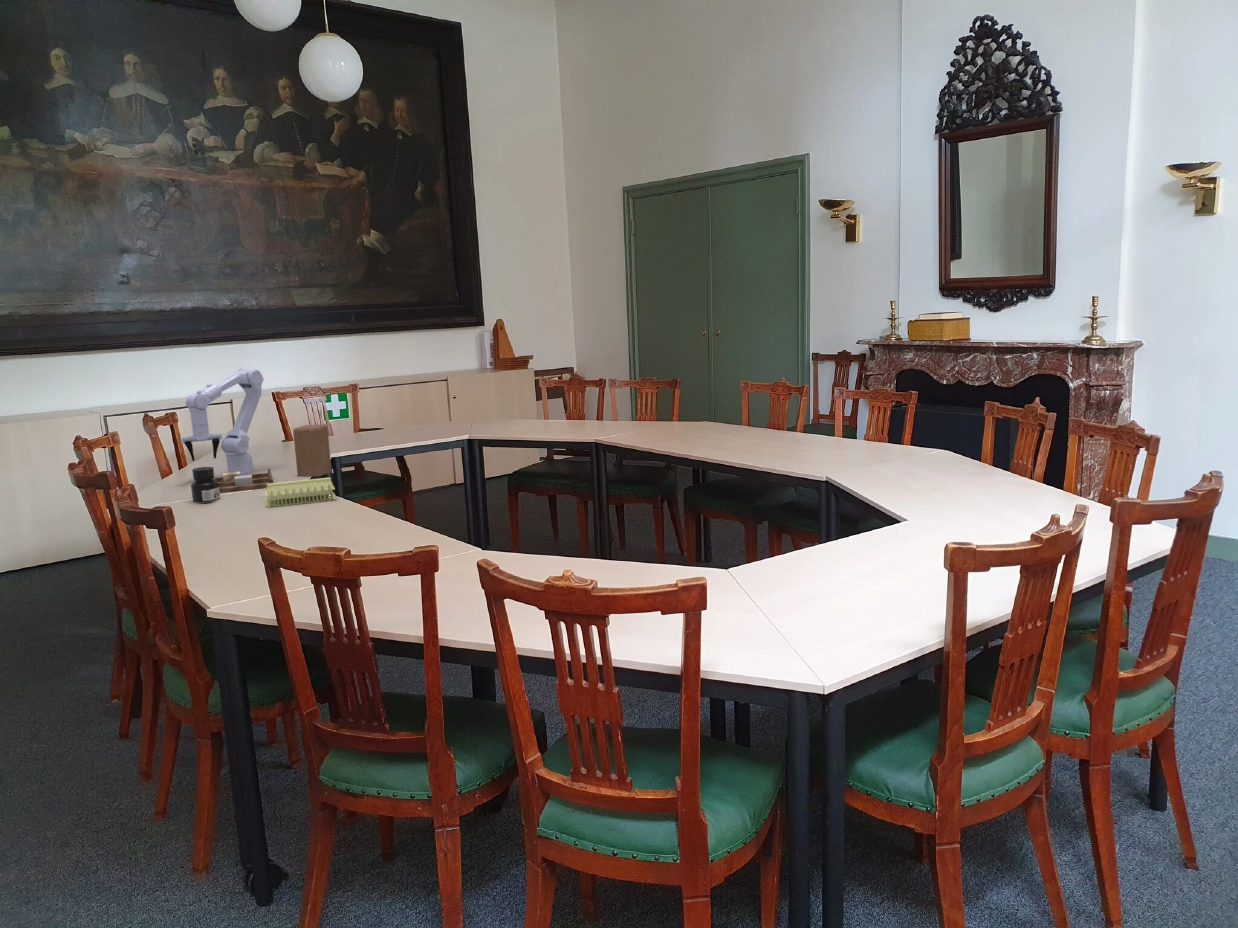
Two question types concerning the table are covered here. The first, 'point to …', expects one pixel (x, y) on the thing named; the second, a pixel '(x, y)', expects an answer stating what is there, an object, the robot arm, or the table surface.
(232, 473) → the birch block
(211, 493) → the ink bottle
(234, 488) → the lane shelf
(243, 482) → the grey block
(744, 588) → the table surface
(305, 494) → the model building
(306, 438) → the wooden block
